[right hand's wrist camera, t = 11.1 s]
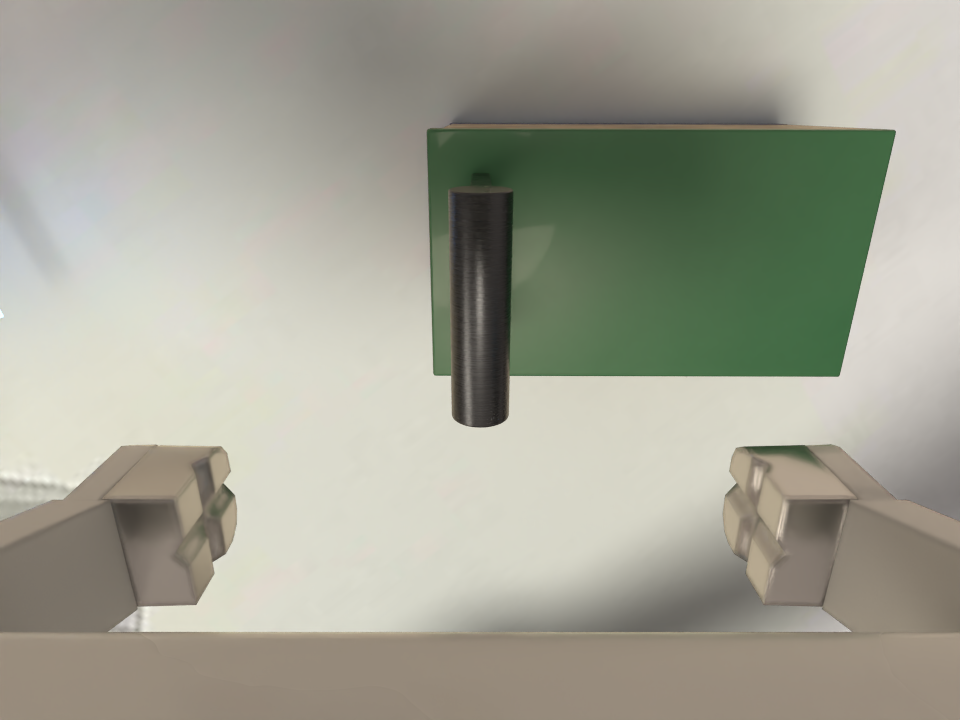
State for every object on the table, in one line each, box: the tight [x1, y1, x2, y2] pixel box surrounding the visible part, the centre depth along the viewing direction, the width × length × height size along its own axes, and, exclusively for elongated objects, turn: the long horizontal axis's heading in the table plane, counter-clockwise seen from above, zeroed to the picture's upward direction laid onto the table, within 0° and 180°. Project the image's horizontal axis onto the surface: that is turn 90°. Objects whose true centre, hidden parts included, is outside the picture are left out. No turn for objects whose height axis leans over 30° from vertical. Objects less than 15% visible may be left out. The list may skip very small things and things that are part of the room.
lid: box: [427, 128, 896, 427], centre depth 22 cm, size 17×10×9 cm, turn 90°
